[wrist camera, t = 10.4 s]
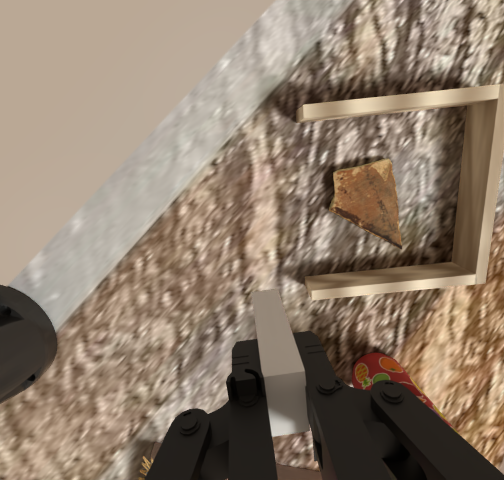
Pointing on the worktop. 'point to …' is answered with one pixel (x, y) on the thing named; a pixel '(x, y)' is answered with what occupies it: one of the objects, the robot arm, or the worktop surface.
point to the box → (469, 195)
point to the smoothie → (387, 377)
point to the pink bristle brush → (287, 475)
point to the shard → (368, 199)
